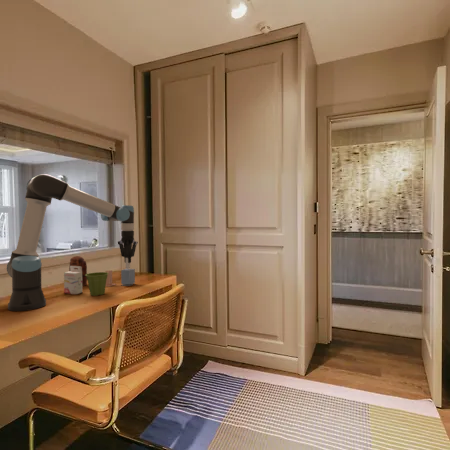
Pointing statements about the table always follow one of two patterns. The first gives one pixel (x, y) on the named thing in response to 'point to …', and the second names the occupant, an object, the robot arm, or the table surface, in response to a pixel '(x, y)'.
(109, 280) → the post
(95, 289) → the plant pot
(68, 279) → the ink cartridge box
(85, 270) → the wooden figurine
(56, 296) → the table surface
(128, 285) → the post
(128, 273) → the grey upright block
